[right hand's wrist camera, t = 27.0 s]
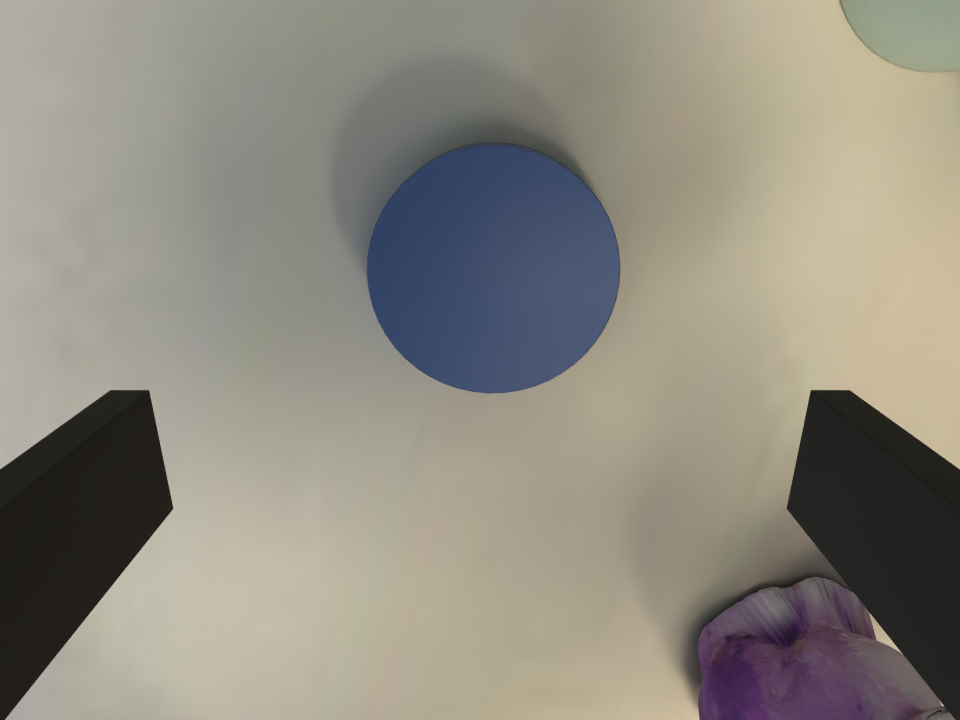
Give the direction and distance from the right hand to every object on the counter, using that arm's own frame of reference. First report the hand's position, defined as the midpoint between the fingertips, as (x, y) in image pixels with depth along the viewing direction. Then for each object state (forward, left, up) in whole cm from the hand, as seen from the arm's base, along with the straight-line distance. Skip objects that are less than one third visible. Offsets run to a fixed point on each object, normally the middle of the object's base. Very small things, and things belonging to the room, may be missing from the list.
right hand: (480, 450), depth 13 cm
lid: (0, -1, -12) cm, 12 cm away
